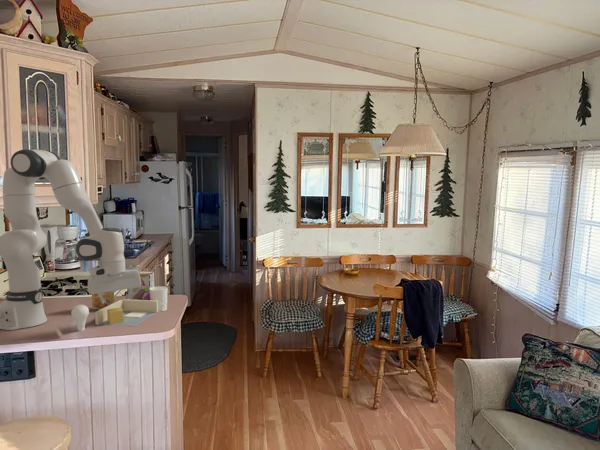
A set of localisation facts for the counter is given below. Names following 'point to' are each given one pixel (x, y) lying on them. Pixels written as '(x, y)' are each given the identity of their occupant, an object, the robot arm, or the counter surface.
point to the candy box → (97, 300)
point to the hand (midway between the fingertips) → (116, 301)
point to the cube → (115, 315)
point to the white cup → (159, 296)
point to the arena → (129, 312)
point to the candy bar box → (143, 287)
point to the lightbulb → (80, 316)
